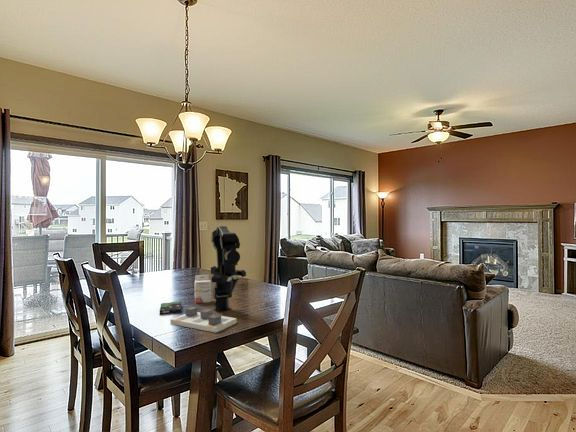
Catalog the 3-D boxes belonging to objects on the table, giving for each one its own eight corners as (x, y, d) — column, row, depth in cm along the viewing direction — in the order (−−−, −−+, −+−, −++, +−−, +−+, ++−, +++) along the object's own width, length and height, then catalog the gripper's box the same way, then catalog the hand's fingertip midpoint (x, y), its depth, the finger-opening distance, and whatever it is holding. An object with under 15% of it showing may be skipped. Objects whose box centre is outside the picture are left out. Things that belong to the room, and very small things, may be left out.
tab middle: (206, 315, 158) (206, 308, 158) (212, 316, 156) (212, 309, 156) (200, 317, 154) (200, 311, 154) (206, 318, 153) (206, 312, 153)
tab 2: (214, 321, 149) (214, 314, 149) (221, 322, 148) (221, 315, 148) (208, 324, 146) (208, 316, 146) (215, 325, 144) (215, 318, 144)
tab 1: (191, 313, 162) (191, 306, 162) (197, 313, 160) (197, 307, 160) (185, 315, 159) (185, 308, 158) (191, 316, 157) (191, 309, 157)
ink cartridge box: (195, 303, 187) (195, 276, 187) (194, 301, 192) (194, 275, 192) (211, 302, 190) (211, 275, 190) (210, 299, 195) (209, 274, 195)
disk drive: (181, 314, 170) (181, 306, 184) (181, 308, 170) (181, 301, 184) (159, 316, 167) (160, 307, 181) (159, 310, 167) (160, 302, 181)
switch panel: (192, 315, 166) (192, 310, 166) (236, 322, 154) (236, 318, 154) (170, 323, 153) (170, 319, 153) (216, 332, 141) (216, 327, 141)
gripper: (227, 257, 168) (227, 289, 169) (201, 262, 152) (202, 297, 152) (246, 258, 163) (246, 291, 163) (221, 263, 147) (222, 300, 147)
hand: (229, 294), depth 157 cm, fingers closed
